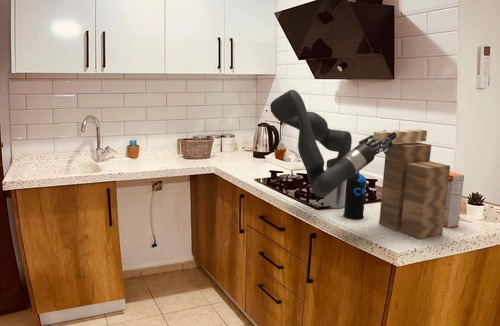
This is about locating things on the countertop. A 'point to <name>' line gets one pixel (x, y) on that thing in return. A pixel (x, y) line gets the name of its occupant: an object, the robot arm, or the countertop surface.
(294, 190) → the countertop surface
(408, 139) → the maple bar
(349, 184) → the aerosol can
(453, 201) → the cracker box
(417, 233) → the brown stepped wooden block
